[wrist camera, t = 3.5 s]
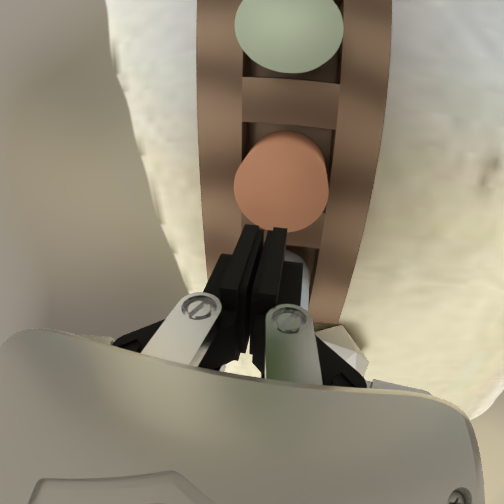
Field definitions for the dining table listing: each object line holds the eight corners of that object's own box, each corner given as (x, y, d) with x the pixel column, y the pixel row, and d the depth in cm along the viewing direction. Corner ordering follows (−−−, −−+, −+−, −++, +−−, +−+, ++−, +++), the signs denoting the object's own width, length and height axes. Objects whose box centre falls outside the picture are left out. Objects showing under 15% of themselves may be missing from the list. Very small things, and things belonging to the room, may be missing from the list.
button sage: (250, -3, 13) (235, -20, 10) (337, 2, 12) (344, -15, 9) (248, 71, 16) (233, 71, 13) (334, 77, 15) (340, 78, 12)
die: (303, 363, 37) (349, 419, 29) (251, 363, 31) (300, 435, 24) (341, 312, 35) (397, 366, 27) (293, 303, 29) (359, 374, 22)
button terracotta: (247, 127, 18) (233, 142, 15) (329, 135, 17) (334, 150, 14) (246, 199, 21) (234, 227, 18) (320, 207, 20) (322, 237, 17)
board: (212, -18, 14) (198, -28, 12) (381, -8, 13) (391, -18, 10) (218, 287, 30) (210, 307, 28) (336, 302, 29) (337, 324, 26)
